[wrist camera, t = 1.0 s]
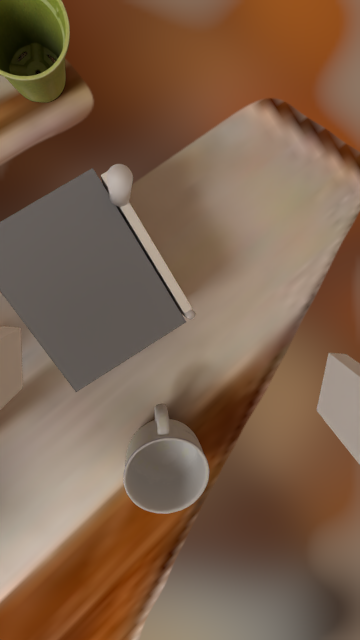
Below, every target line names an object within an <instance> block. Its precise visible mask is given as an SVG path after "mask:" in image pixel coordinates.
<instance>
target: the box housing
mask: <svg viewBox="0 0 360 640" xmlns="http://www.w3.org/2000/svg"><path fill="white" fill-rule="evenodd" d="M0 291H1V293H2V294H3V295H4V297H5V298H6V299H7V301H8V302H9V303H10V305H11V306H12V307H13V309H14V310H15V311H16V313H17V314H18V315H19V317H20V318H21V319H22V321H23V322H24V323H25V325H26V326H27V327H28V329H29V330H30V331H31V333H32V334H33V335H34V337H35V338H36V339H37V341H38V342H39V343H40V345H41V346H42V347H43V349H44V350H45V351H46V353H47V354H48V355H49V357H50V358H51V359H52V361H53V362H54V363H55V365H56V366H57V367H58V369H59V370H60V371H61V373H62V374H63V375H64V377H65V378H66V379H67V381H68V382H69V383H70V385H71V386H72V387H73V389H74V390H75V391H76V392H77V391H78V390H80V389H82V388H83V387H85V386H86V385H88V384H89V383H91V382H93V381H94V380H96V379H97V378H99V377H100V376H102V375H104V374H105V373H107V372H108V371H110V370H111V369H113V368H115V367H116V366H118V365H119V364H121V363H122V362H124V361H126V360H127V359H129V358H130V357H132V356H133V355H135V354H137V353H138V352H140V351H141V350H143V349H144V348H146V347H148V346H149V345H151V344H152V343H154V342H155V341H157V340H159V339H160V338H162V337H163V336H165V335H166V334H168V333H170V332H171V331H173V330H174V329H176V328H177V327H179V326H181V325H182V324H184V323H185V322H186V321H185V319H184V317H183V316H182V314H181V312H180V311H179V309H178V308H177V306H176V304H175V303H174V301H173V299H172V298H171V296H170V294H169V293H168V291H167V289H166V288H165V286H164V284H163V283H162V281H161V280H160V278H159V276H158V275H157V273H156V271H155V270H154V268H153V266H152V265H151V263H150V261H149V260H148V258H147V257H146V255H145V253H144V252H143V250H142V248H141V247H140V245H139V243H138V242H137V240H136V238H135V237H134V235H133V233H132V232H131V230H130V229H129V227H128V225H127V224H126V222H125V220H124V219H123V217H122V215H121V214H120V212H119V210H118V209H117V207H116V206H115V205H114V204H113V203H112V202H111V200H110V197H109V194H108V192H107V191H106V189H105V187H104V186H103V184H102V183H101V181H100V179H99V178H98V176H97V174H96V173H95V171H94V169H93V168H92V169H90V170H88V171H87V172H85V173H83V174H82V175H80V176H78V177H77V178H75V179H73V180H71V181H70V182H68V183H66V184H64V185H63V186H61V187H59V188H58V189H56V190H54V191H52V192H51V193H49V194H47V195H46V196H44V197H42V198H40V199H39V200H37V201H35V202H34V203H32V204H30V205H28V206H27V207H25V208H23V209H22V210H20V211H18V212H17V213H15V214H13V215H11V216H10V217H8V218H7V219H5V220H3V221H1V222H0Z"/></svg>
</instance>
